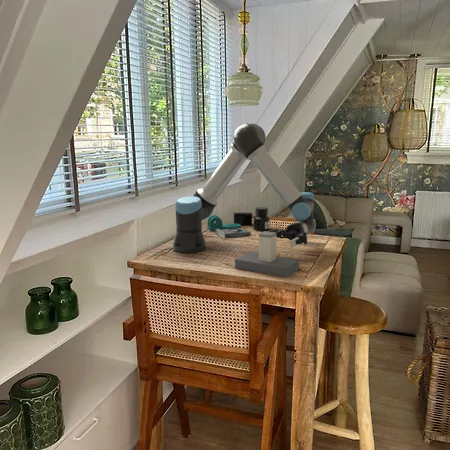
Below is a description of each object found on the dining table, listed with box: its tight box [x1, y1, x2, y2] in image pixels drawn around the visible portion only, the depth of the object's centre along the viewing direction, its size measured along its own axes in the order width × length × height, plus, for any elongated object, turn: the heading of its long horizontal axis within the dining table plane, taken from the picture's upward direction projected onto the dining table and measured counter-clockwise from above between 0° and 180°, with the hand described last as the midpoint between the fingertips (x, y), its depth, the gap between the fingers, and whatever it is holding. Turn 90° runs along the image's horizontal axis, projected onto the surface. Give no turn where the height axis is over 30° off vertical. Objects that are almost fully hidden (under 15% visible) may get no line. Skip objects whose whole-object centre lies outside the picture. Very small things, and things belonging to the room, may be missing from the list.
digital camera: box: [233, 212, 253, 227], centre depth 248 cm, size 10×5×7 cm, turn 91°
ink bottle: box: [252, 206, 271, 232], centre depth 236 cm, size 10×9×12 cm
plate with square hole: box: [234, 251, 301, 279], centre depth 168 cm, size 22×12×4 cm, turn 58°
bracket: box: [207, 214, 242, 232], centre depth 238 cm, size 18×7×8 cm, turn 104°
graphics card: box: [214, 227, 252, 240], centre depth 224 cm, size 17×4×12 cm
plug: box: [258, 230, 277, 263], centre depth 167 cm, size 5×5×14 cm
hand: (275, 241), depth 171 cm, fingers open, 13 cm apart
